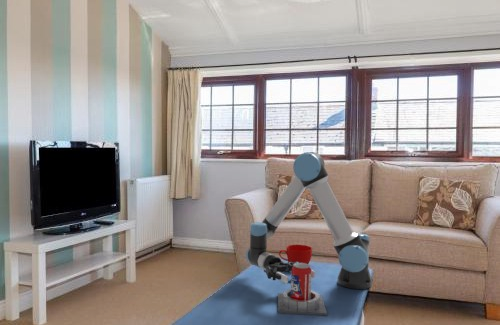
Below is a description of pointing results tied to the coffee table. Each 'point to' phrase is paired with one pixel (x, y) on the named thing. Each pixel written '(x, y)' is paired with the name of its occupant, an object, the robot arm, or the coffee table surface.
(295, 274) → the soda can
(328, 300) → the coffee table surface
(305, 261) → the ceramic cup
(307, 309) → the housing
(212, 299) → the coffee table surface
